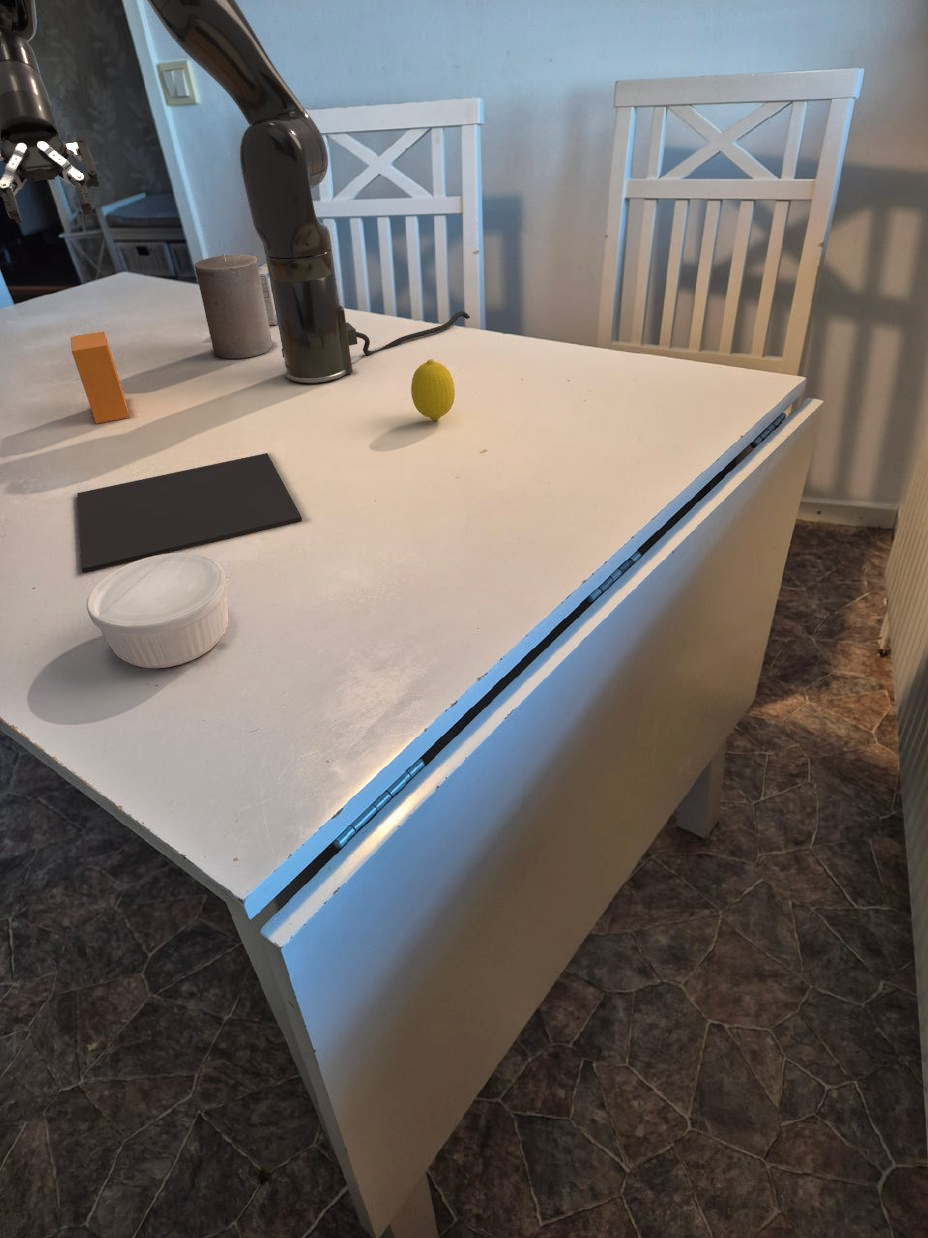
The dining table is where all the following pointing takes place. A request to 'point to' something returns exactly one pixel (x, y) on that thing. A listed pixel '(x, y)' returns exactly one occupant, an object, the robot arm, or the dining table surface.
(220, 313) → the pillar candle
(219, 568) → the ramekin
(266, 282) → the medicine box
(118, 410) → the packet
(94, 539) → the mat
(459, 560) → the dining table surface
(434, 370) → the lemon
